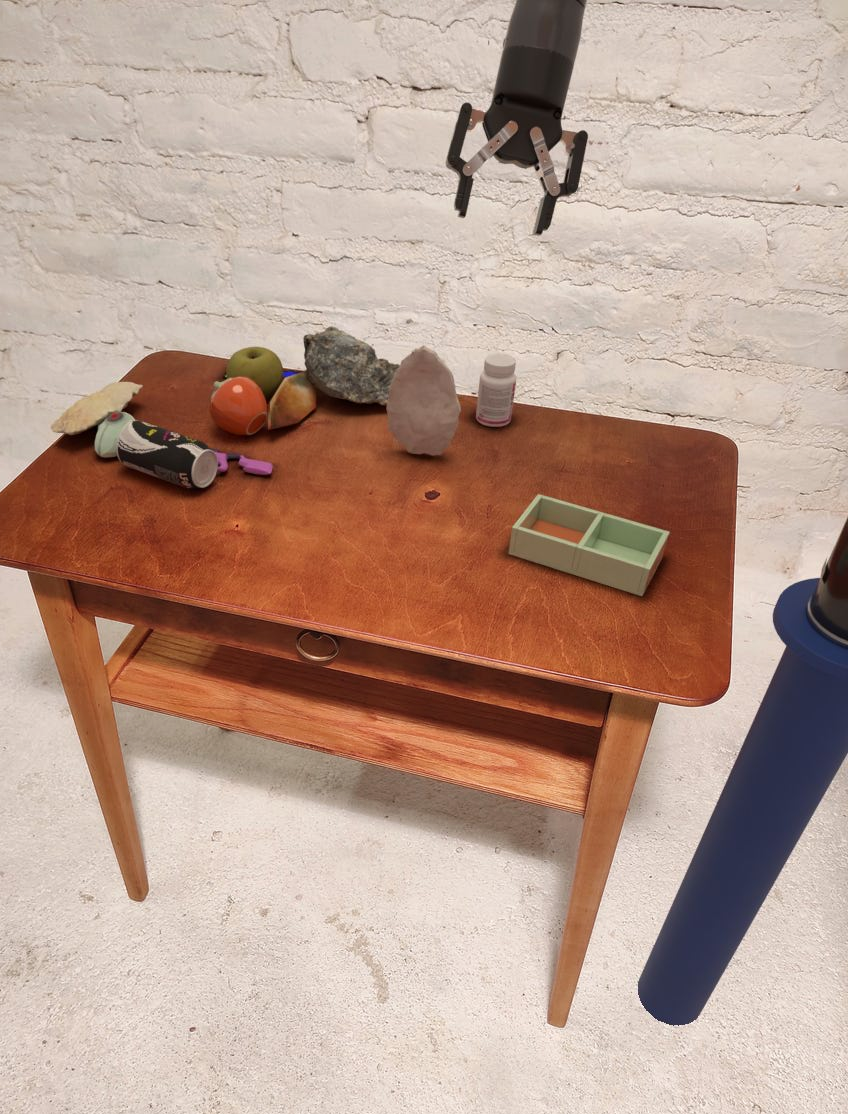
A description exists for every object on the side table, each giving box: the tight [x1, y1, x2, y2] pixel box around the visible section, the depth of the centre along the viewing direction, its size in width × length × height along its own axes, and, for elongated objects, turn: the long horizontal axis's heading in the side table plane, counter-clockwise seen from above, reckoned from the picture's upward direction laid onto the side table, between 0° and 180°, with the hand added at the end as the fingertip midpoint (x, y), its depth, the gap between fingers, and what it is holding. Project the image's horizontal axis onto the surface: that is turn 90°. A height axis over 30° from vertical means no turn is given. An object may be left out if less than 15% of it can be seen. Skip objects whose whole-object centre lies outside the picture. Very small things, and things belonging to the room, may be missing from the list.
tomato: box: [209, 376, 268, 436], centre depth 113 cm, size 7×7×8 cm
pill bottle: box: [475, 353, 517, 428], centre depth 115 cm, size 5×5×8 cm
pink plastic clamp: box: [209, 447, 274, 476], centre depth 109 cm, size 21×1×5 cm
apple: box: [225, 346, 284, 405], centre depth 118 cm, size 8×8×7 cm
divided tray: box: [507, 493, 671, 597], centre depth 94 cm, size 15×8×4 cm, turn 61°
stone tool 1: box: [50, 381, 144, 436], centre depth 114 cm, size 8×4×15 cm
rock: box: [302, 326, 400, 406], centre depth 119 cm, size 14×10×10 cm
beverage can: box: [116, 419, 219, 490], centre depth 104 cm, size 6×6×12 cm
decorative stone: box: [267, 370, 317, 431], centre depth 116 cm, size 14×6×3 cm
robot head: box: [94, 411, 136, 458], centre depth 109 cm, size 8×4×7 cm
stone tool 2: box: [386, 344, 462, 457], centre depth 105 cm, size 9×3×15 cm, turn 80°
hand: (499, 225), depth 95 cm, fingers open, 8 cm apart
